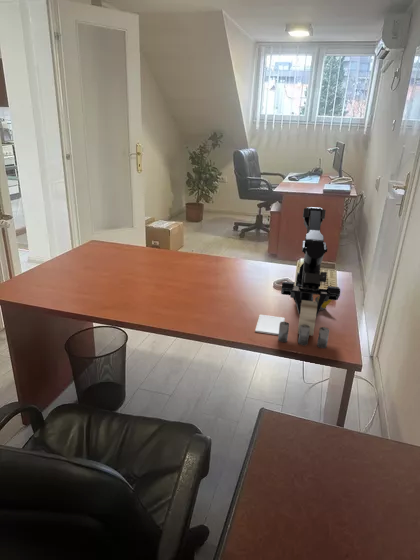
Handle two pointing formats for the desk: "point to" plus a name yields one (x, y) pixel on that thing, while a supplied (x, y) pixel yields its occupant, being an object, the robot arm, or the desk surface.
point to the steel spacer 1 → (283, 331)
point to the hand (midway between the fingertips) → (307, 315)
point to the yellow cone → (323, 303)
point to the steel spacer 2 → (323, 337)
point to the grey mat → (269, 324)
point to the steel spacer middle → (304, 334)
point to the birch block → (308, 315)
